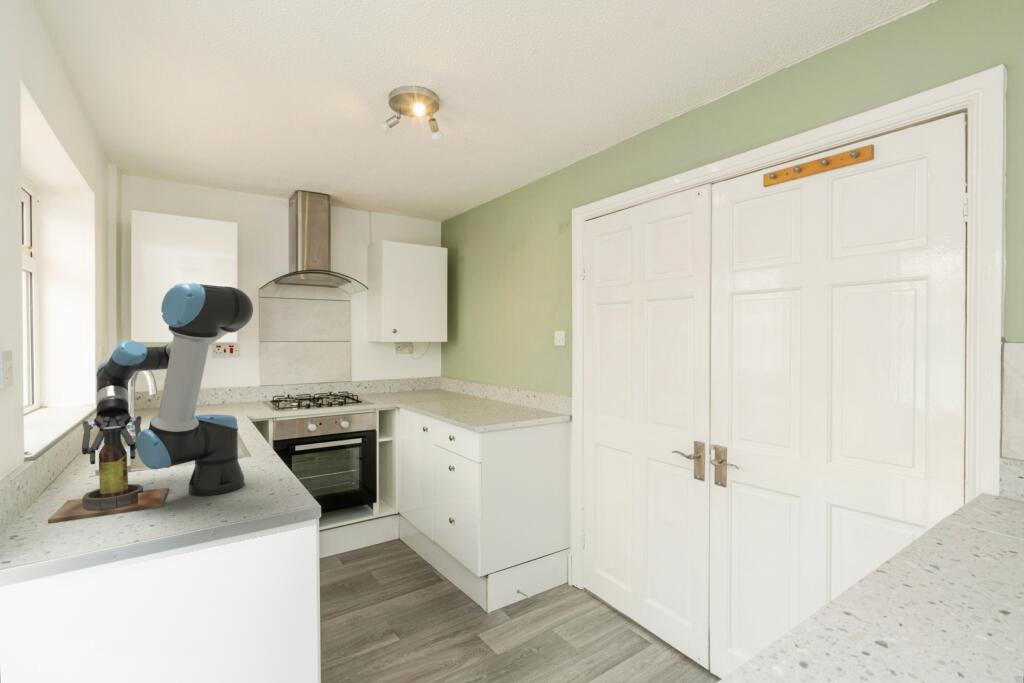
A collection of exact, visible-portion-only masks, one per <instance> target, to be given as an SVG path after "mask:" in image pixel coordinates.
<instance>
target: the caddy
mask: <svg viewBox="0 0 1024 683" xmlns="http://www.w3.org/2000/svg"><path fill="white" fill-rule="evenodd" d="M169 492H170V487H169V486H168V487H162V488H161V487H160V488H154V489H146V490H144V486H143V485H141V484H139V483H138V484H137V483H134V484H133V483H128V493H127V494H124V495H120V496H116V497H108V498H101V493H100V488H97V489H93V490H91V491H89V492H86V493H85V494H84V495H83V496H82V498H76V499H69V500H66V501H65V502H64V503H63V504H62V505H61V506H60V508H58V509H57V510H56V511H55V512H54V513H53V514H52V515H51V516H50V517H49V518H48V519H47V524H54V523H59V522H66V521H72V520H80V519H88V518H94V517H95V518H96V517H101V516H109V515H116V514H122V513H128V512H136V511H142V510H143V511H144V510H150V509H158V508H162V507H163V505H164V503H165V500H166V498H167V497H168V495H169Z"/></svg>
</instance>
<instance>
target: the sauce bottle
mask: <svg viewBox="0 0 1024 683" xmlns="http://www.w3.org/2000/svg"><path fill="white" fill-rule="evenodd" d="M103 434H104V439H103V446H102V447H101V449H100V450H99V475H98V476H99V489H100V493H101V498H108V497H116V496H120V495H124V494H127V493H128V484H129V471H127V452H126V450H125V449H126V448H125V446H124V444H123V442H122V434H121V426H112V427H106V428H103Z"/></svg>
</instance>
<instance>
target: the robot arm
mask: <svg viewBox="0 0 1024 683" xmlns="http://www.w3.org/2000/svg"><path fill="white" fill-rule="evenodd" d="M160 309H161V310H160V311H161V313H162V314H161V317H162V320H163V321H164V323H165V324H166V325H167V326H168V331H169V332H171V334H172V335H173V337H172V340H171V341H169V342H168V343H167V344H165V345H163V346H145V345H144V343H142V342H139V341H135V340H130V339H128V340H124V341H122V342H120V343H119V344H118V346H116V348H115V349H114V350H113V351H112V354H111V356H110V358H109V359H108V360H106V361H104V362H102V363H100V364H99V365H98V367H97V372H96V375H95V376H96V415H95V416H96V417H95V418H94V420H91V421H88V420H83V421H82V429H83V436H82V443H81V444H82V445H81V453H82V455H89V463H90V465H95V466H94V470H95V471H94V472H95V477H96V476H99V453H100V450H99V448H100V446H101V445H102V443H103V442H104V434H103V428H106V427H112V426H121V437H122V438H123V439H124V442H125V443H126V445H127V446H126V449H127V471H128V472H130V471H131V460H135V459H136V452H137V455H138V456H139V457H138V458H139V459H140V460H141V462H142V464H143V465H145V466H146V467H147V468H149V469H151V470H160V469H165V468H166V469H167V468H168V469H169V468H171V467H174V466H179V465H183V464H186V463H190V462H194V468H193V471H192V474H191V476H190V479H189V483H188V493H189V494H190V495H192V496H213V495H221V494H225V493H228V492H233V491H236V490H239V489H241V488H243V487H244V485H245V475H244V473H243V470H242V467H241V465H240V462H239V454H238V452H239V451H238V450H239V446H238V445H239V444H238V443H239V442H238V436H239V435H238V431H239V428H238V421H237V418H236V416H234V415H230V414H197V415H195V414H196V411H197V410H196V409H197V404H198V400H199V395H200V390H201V385H202V380H203V375H204V372H205V371H204V370H205V366H206V363H207V357H208V354H209V353H208V352H209V347H210V346H211V345H212V344H214V343H215V342H216V341H218V340H219V339H221V338H222V337H224V336H226V335H227V334H229V333H230V334H231V333H236V332H239V330H241V329H243V328H244V327H245V326H246V325H247V324H249V322H250V321H251V319H252V318H253V314H254V305H253V302H252V299H251V298H250V297H249V296H248V295H247V293H245V292H244V291H243V290H241V289H239V288H236V287H234V286H223V285H221V286H220V285H212V284H203V283H202V284H201V283H194V282H193V283H177V284H176V285H174V286H173V287H170V288H169V289H168V290H167V292H166V293H165V294H164V296H163V299H162V302H161V308H160ZM159 370H161V371H162V370H166V374H165V379H164V385H163V389H162V394H161V398H160V403H159V408H158V413H157V414H156V415H154V416H152V417H151V418H150V421H149V426H148V428H143V429H142V428H141V424H142V416H140V415H138V416H136V417H134V416H133V417H132V416H131V415H130V413H129V412H130V406H129V382H130V380H131V379H132V377H134V375H135V373H136V372H144V371H146V372H147V371H148V372H149V371H159ZM130 423H131V424H132V425H133V426H134V433H135V441H134V439H133V438H132V436H131V434H130V432H129V430H128V429H127V425H128V424H130ZM94 426H96V427H97V428H98V430H99V431H98V433H97V434H96V435H95V436H96V437H95V438H94V440H93V442H92V445H91V446H90V440H91V430H93V428H94ZM89 446H90V447H89Z"/></svg>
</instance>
